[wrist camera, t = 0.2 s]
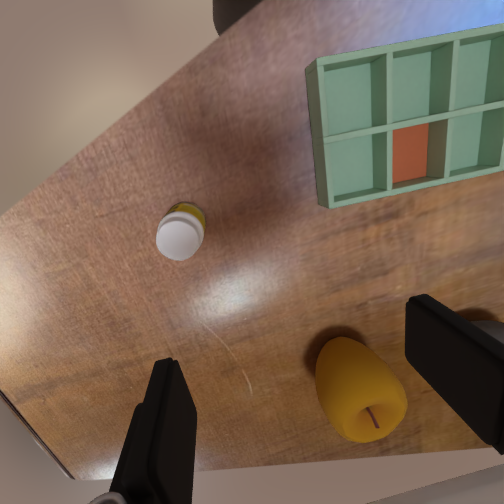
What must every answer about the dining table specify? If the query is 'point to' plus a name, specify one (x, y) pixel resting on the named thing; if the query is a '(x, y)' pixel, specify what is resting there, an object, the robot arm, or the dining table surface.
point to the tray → (407, 115)
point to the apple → (358, 391)
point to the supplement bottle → (181, 231)
